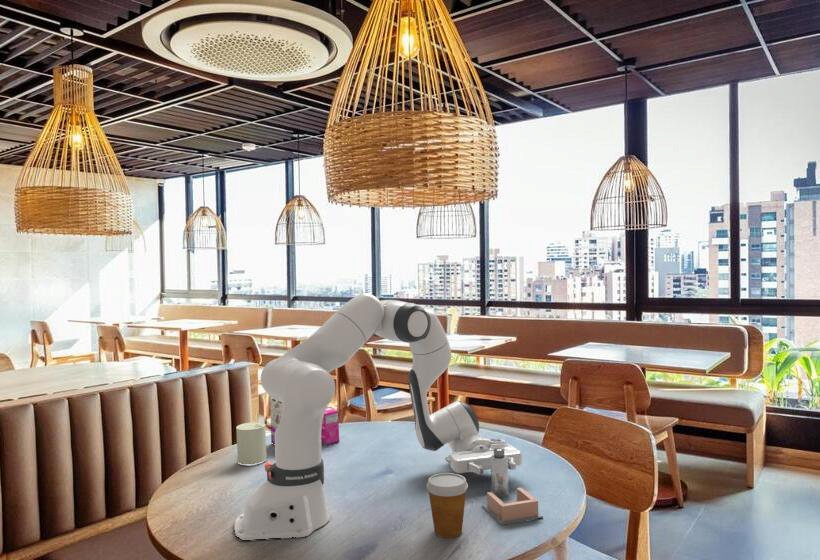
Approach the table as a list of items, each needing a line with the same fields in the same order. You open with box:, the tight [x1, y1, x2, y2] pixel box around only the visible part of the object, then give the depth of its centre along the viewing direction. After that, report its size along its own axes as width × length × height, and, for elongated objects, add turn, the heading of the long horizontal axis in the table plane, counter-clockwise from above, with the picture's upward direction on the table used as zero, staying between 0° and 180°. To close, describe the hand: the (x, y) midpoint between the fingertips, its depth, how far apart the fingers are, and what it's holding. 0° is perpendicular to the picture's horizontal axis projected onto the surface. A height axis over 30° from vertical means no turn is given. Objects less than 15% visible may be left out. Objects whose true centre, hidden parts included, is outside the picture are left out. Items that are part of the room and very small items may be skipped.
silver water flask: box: [490, 448, 510, 499], centre depth 150 cm, size 4×4×12 cm
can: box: [235, 421, 267, 464], centre depth 182 cm, size 9×9×12 cm
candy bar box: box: [269, 397, 283, 445], centre depth 197 cm, size 11×5×16 cm, turn 40°
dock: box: [481, 487, 544, 526], centre depth 139 cm, size 11×11×4 cm
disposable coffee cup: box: [426, 472, 469, 539], centre depth 130 cm, size 10×10×12 cm
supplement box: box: [321, 407, 340, 446], centre depth 199 cm, size 6×6×12 cm
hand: (497, 468), depth 151 cm, fingers open, 8 cm apart
